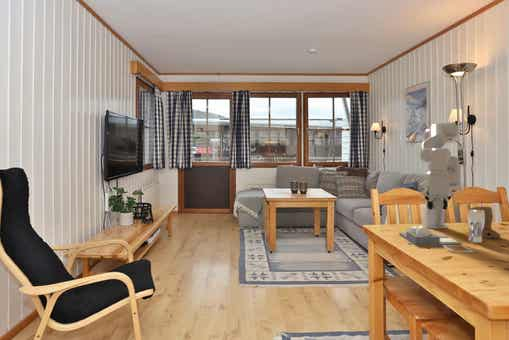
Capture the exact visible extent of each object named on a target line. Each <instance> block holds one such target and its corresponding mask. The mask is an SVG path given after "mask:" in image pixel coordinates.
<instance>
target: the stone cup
mask: <svg viewBox="0 0 509 340" xmlns="http://www.w3.org/2000/svg"><path fill="white" fill-rule="evenodd" d="M470 210H483V211H485V223H484V228H483V232H482V238H484V239H498V238H501V236H502V235H501V234H500V233H498V232H497V231H496V230H494V229H492V225H493V224H492V222H493V216H494V215H493V208H492V207H491V206H486V205H485V206H473V207H471V208H470Z"/></svg>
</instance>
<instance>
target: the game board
mask: <svg viewBox="0 0 509 340" xmlns="http://www.w3.org/2000/svg"><path fill="white" fill-rule="evenodd" d="M418 227H419V226H417V225H416V226H415V225H412V226H410V225H409V226H408V230H406V232H399V234H398V235H399V236H400V237H401V238H404V239H405V240H407V241H408V242H410V243H411V245H414V246H415V247H417V246H418V247H443V248H445V249H447V250H448V251H450V252H452V253H475V251H474V250H472V249H470V248H469V247H466V246H465V245H463V243H461V242H459V241H458V240H455V239H453V238H452V237H449V236H447V235H446V234H443V233H442V232H431V231H430V236H418V235H416V229H417V228H418ZM449 247H462V248H464V249H465V250H453V249H451V248H449Z"/></svg>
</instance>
